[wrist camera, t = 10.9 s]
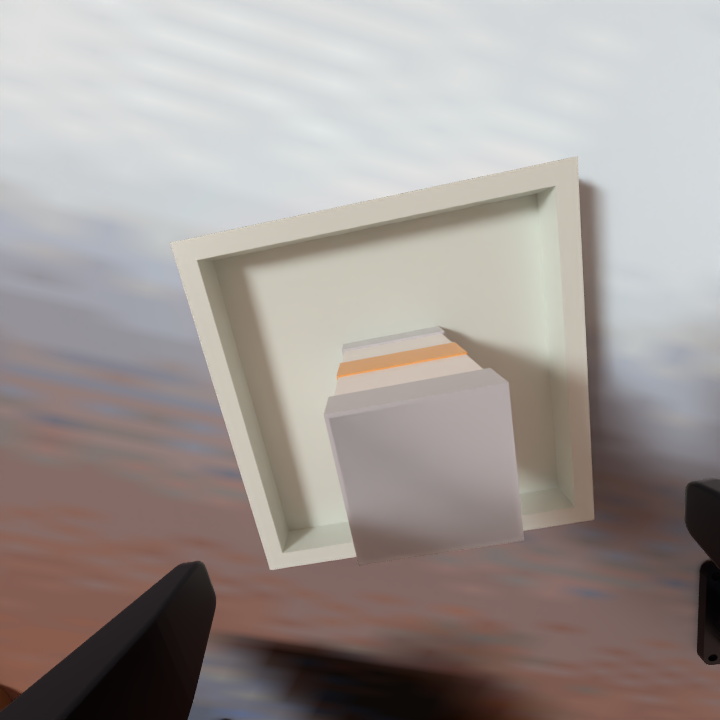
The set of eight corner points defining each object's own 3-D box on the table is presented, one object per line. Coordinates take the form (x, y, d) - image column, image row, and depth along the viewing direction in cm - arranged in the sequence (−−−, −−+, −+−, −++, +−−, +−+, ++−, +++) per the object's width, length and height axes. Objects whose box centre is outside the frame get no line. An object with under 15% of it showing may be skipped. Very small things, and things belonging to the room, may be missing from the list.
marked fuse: (450, 415, 17) (524, 540, 9) (361, 430, 17) (358, 565, 9) (438, 326, 16) (508, 382, 8) (343, 343, 16) (323, 414, 8)
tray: (570, 493, 18) (594, 519, 16) (279, 539, 19) (270, 570, 17) (549, 170, 15) (577, 156, 13) (194, 245, 16) (169, 242, 14)
